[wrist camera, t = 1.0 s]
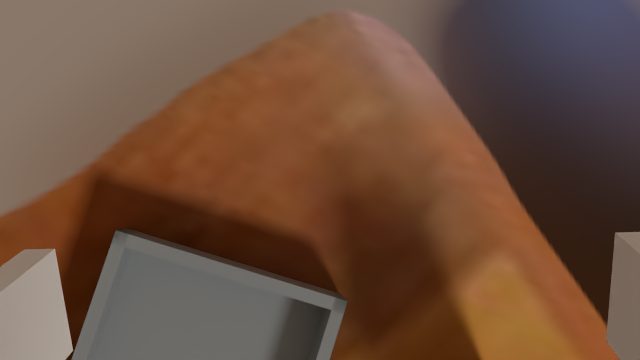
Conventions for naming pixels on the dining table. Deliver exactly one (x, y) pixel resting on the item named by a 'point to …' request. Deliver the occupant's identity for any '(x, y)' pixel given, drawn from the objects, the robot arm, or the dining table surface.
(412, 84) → the dining table surface
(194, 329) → the tray
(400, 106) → the dining table surface
